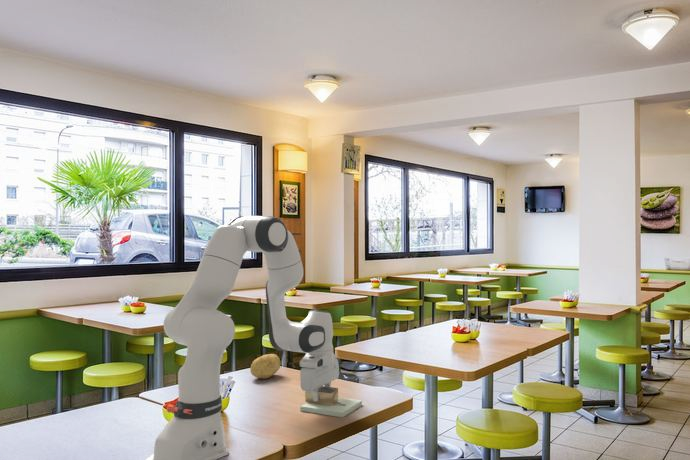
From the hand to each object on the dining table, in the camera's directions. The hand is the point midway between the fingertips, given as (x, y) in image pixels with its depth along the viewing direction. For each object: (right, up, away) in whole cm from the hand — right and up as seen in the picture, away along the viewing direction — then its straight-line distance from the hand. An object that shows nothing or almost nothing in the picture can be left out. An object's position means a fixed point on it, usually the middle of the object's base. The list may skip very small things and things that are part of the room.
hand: (321, 398), depth 189 cm
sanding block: (0, -1, 0) cm, 1 cm away
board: (+4, -3, -2) cm, 5 cm away
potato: (-25, -4, +40) cm, 48 cm away
